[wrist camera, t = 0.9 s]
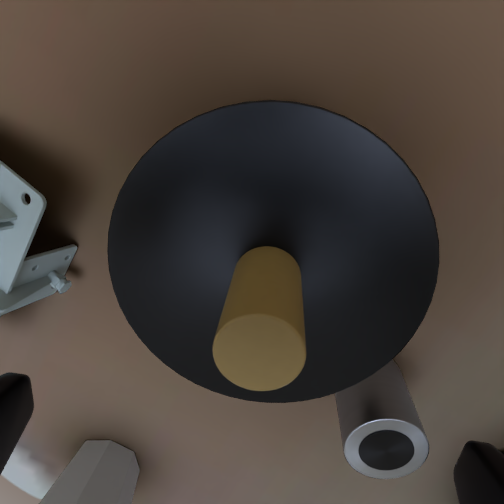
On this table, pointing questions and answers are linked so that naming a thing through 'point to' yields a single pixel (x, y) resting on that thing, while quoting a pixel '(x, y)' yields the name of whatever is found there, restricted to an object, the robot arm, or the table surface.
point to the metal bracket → (26, 247)
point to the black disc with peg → (273, 251)
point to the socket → (381, 426)
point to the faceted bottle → (96, 476)
